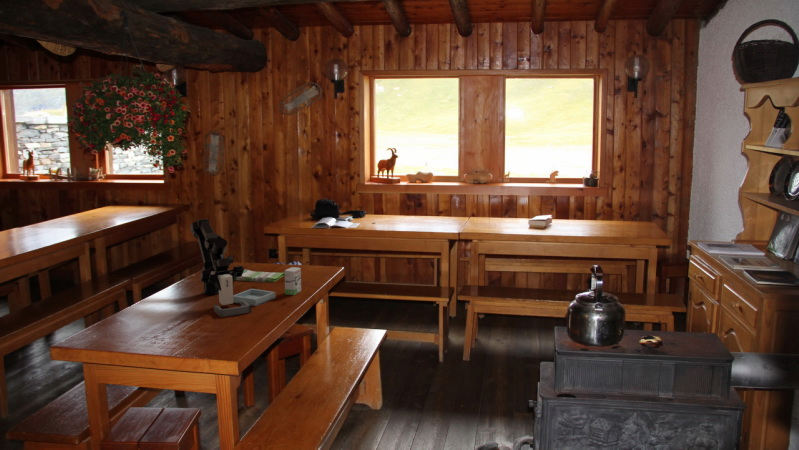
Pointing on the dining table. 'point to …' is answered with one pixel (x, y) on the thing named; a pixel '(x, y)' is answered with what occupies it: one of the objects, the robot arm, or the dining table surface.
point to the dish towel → (259, 276)
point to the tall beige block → (225, 289)
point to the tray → (254, 297)
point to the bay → (233, 310)
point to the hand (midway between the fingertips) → (226, 289)
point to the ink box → (292, 281)
